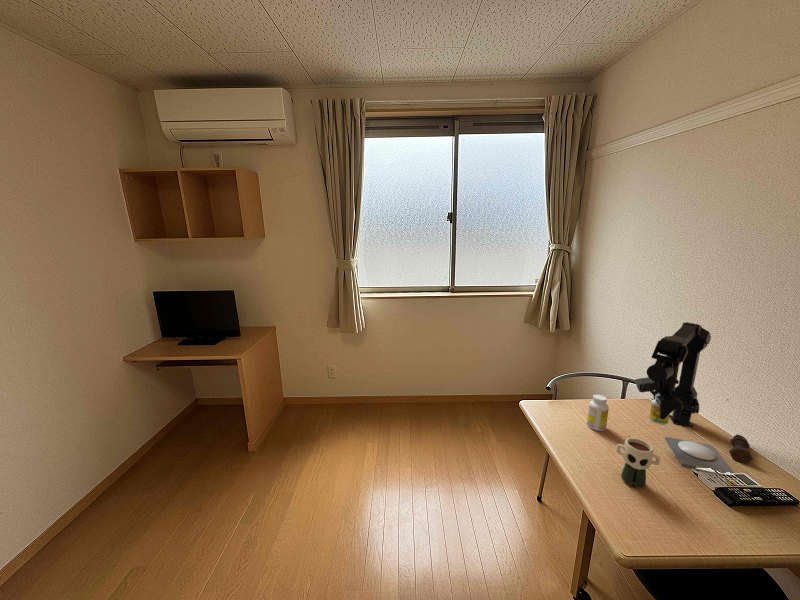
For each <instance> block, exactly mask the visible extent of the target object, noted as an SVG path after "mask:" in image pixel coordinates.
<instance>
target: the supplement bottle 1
mask: <svg viewBox="0 0 800 600" xmlns="http://www.w3.org/2000/svg"><path fill="white" fill-rule="evenodd" d="M592 396H593V397H592V399H593V400H591V401H590V402H589V403H588V404H589V405H588V412H587V420H586V421H587V422H586V424H587V426H588V427H589V428H590V429H591V430H593V431H597V432H604V431H605V430H606V429H607V424H608V417H609V411H610V407H609V404H608V403H607V401H608V398H607V397H606V396H604V395H602V394H593V395H592Z"/></svg>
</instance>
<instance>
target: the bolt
mask: <svg viewBox="0 0 800 600" xmlns="http://www.w3.org/2000/svg"><path fill="white" fill-rule="evenodd" d="M730 444H731V445H732V447H731V449H729V450H728V451H729V452H728V453H729V454H730V457H731V458H732V460H733V461H735V462H736V463H740V464H744V465H748V464H749V463H751V462H752V461H754V457H753V455H752V453H751V451H750V449H749V448H750V447H751V446H750V443H749V441H748V439H747V438H745V437H744V436H743V435H740V434H735V435H733V437H732V438H731V439H730Z"/></svg>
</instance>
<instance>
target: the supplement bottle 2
mask: <svg viewBox="0 0 800 600" xmlns="http://www.w3.org/2000/svg"><path fill="white" fill-rule="evenodd" d="M658 396H660V395H659V394H656V395H655V400H654V399H652V401H651V405H650V412H649V420H650V421H651V422H652V423H655V424H657V425H660V426H666V425H668V423H669V419H670V417H669V415H670V414H669V415H668V416H667V417H666V418H665V419H660V406H659V405H658V404H657V402H656V400H657V398H658Z"/></svg>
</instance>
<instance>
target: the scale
mask: <svg viewBox="0 0 800 600" xmlns="http://www.w3.org/2000/svg"><path fill="white" fill-rule="evenodd" d="M664 439H665V441H666V442H667V445H668V446H669V448H670V449H671V451H672V452H673V454H674V456H675V458H676V460H677V461H678V463H679V464H680V466H682V467H685V468H691V469H695V468H711V469H712V470H715V471H720V472H730V473H735V471H734V469H732V468H731V466H730V465H729V464H728V463H727V461H726V460H725V459H724V458H723V457H722V456H721V454H720V453H719V452H718V451H717V449H716V448H715V447H714V445H711V444H706V443H701V442H696V441H690V440H685V439H680V438H675V437H671V436H670V437H669V436H665V438H664ZM720 468H722V469H720Z"/></svg>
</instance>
